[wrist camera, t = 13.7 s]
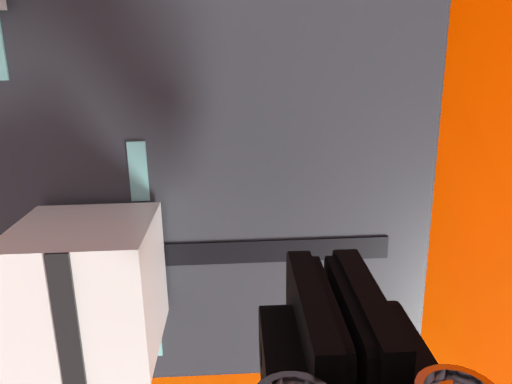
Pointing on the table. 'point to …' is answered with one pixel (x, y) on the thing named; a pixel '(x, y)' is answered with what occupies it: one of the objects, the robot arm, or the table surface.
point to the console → (232, 143)
